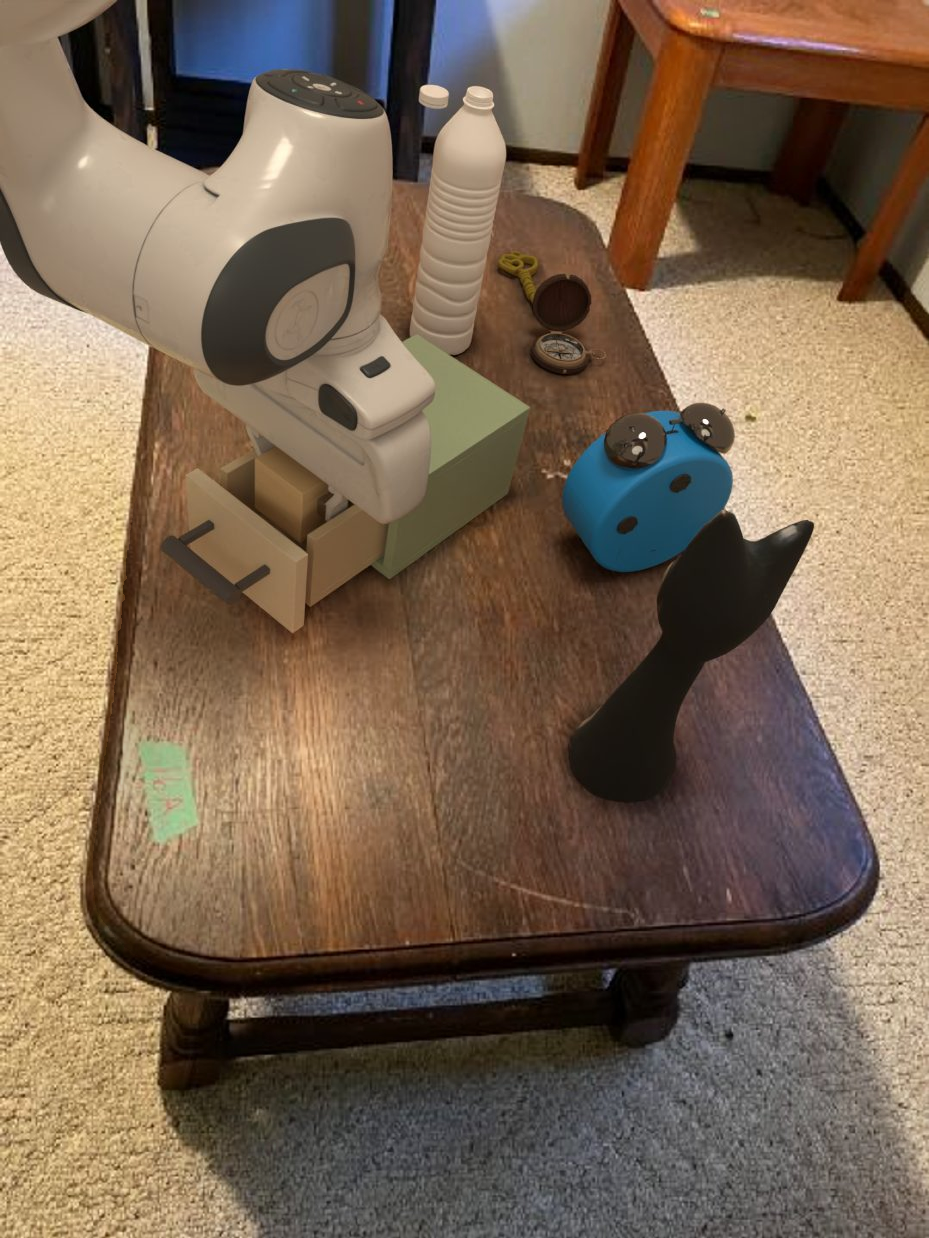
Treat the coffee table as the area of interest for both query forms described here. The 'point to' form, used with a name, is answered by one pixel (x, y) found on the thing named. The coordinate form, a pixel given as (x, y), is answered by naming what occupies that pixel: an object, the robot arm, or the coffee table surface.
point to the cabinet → (457, 456)
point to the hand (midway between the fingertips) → (301, 493)
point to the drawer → (267, 546)
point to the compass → (561, 323)
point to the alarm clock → (650, 485)
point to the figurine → (683, 652)
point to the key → (520, 270)
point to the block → (288, 493)
